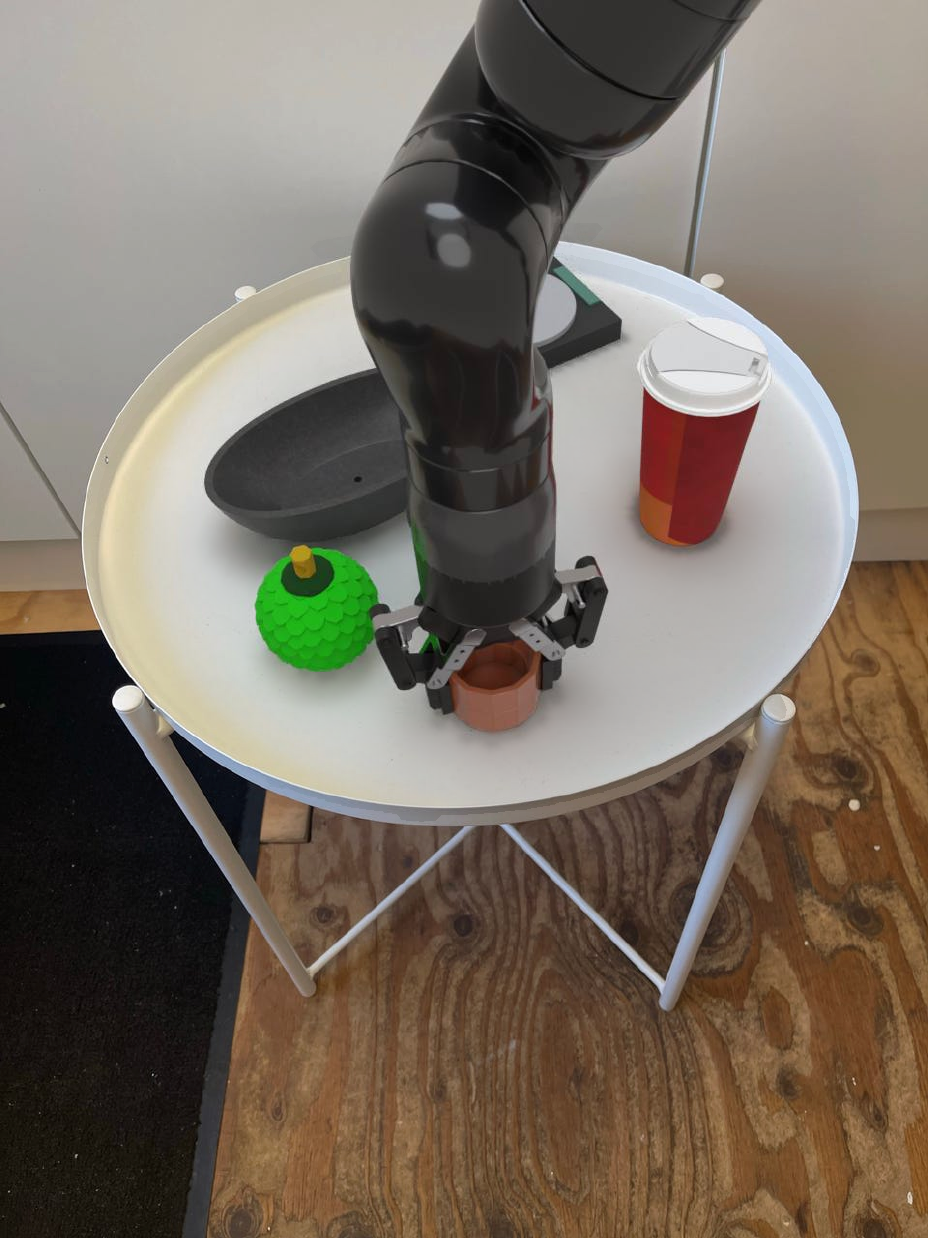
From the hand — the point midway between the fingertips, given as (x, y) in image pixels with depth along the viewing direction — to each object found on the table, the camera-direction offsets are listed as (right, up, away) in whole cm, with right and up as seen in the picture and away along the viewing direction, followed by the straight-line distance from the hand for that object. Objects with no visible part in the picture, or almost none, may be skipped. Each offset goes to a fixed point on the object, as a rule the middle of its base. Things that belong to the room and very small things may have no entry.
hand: (494, 690), depth 63 cm
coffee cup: (+14, +12, +9) cm, 21 cm away
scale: (+3, +31, +22) cm, 38 cm away
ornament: (-11, +3, +4) cm, 12 cm away
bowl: (-10, +14, +12) cm, 21 cm away
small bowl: (0, 0, +1) cm, 1 cm away
